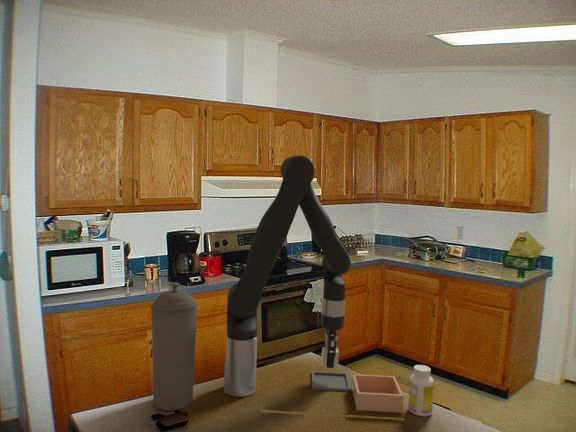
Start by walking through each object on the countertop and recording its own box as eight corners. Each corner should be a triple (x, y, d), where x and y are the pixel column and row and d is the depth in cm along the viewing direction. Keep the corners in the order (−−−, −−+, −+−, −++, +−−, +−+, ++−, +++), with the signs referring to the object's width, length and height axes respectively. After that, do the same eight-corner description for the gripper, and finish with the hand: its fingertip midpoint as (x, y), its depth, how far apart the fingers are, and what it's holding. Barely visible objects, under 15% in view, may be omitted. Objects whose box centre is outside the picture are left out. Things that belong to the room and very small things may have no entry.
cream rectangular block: (322, 366, 144) (323, 351, 143) (321, 361, 148) (322, 346, 147) (337, 367, 143) (338, 352, 143) (336, 362, 147) (337, 348, 147)
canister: (201, 394, 136) (203, 279, 133) (187, 415, 123) (189, 289, 121) (160, 391, 137) (161, 277, 134) (142, 411, 124) (143, 286, 122)
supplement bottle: (433, 409, 131) (436, 366, 130) (430, 419, 125) (433, 374, 124) (410, 403, 134) (412, 361, 133) (406, 413, 128) (408, 369, 127)
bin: (356, 412, 128) (357, 393, 128) (351, 391, 141) (352, 374, 141) (402, 414, 128) (403, 395, 127) (393, 393, 141) (394, 376, 140)
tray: (311, 391, 140) (312, 386, 140) (311, 375, 152) (311, 370, 152) (350, 393, 140) (350, 388, 140) (347, 376, 152) (347, 372, 151)
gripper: (320, 305, 152) (317, 355, 153) (322, 318, 137) (318, 373, 139) (343, 307, 151) (339, 357, 152) (346, 319, 137) (343, 374, 138)
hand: (329, 364), depth 145 cm, fingers closed on cream rectangular block, 4 cm apart
